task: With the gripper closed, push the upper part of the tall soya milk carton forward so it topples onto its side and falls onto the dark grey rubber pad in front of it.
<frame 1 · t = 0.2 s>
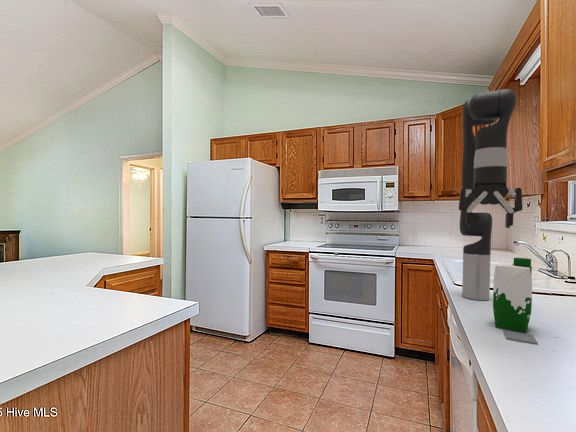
hand: (488, 227, 85), 29 cm above the worktop, tool pointing down, fingers open, 8 cm apart
soya milk: (511, 327, 92), on the worktop
rubber pad: (519, 337, 84), on the worktop
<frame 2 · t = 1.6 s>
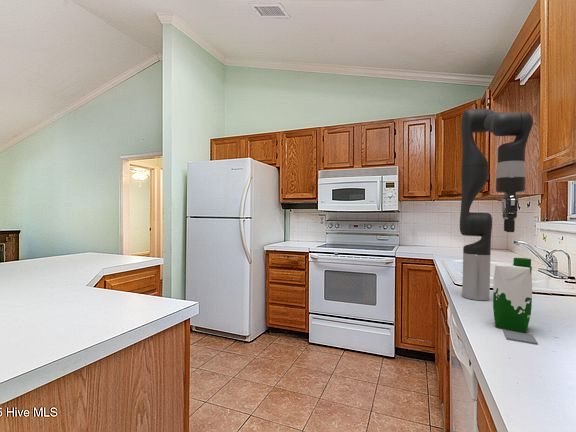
hand: (509, 231, 100), 27 cm above the worktop, tool pointing down, fingers open, 3 cm apart
nothing on the worktop moved.
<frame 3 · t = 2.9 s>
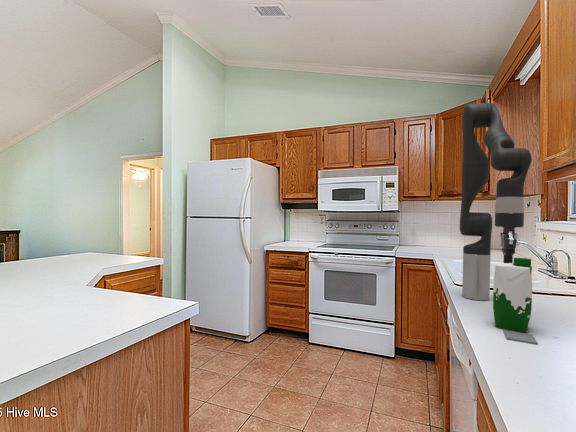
hand: (507, 267, 100), 16 cm above the worktop, tool pointing down, fingers closed
nothing on the worktop moved.
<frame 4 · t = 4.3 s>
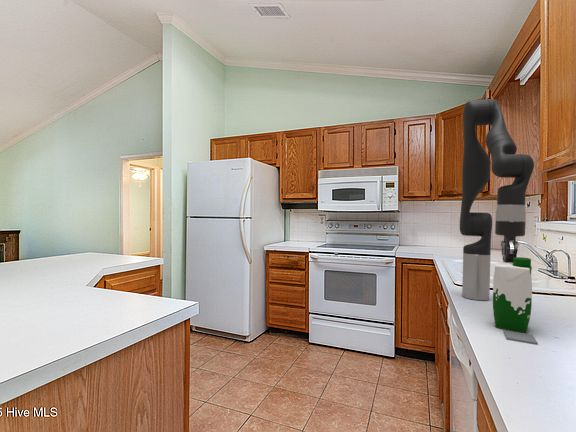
hand: (508, 276, 97), 14 cm above the worktop, tool pointing down, fingers closed
soya milk: (511, 327, 92), on the worktop, touching hand
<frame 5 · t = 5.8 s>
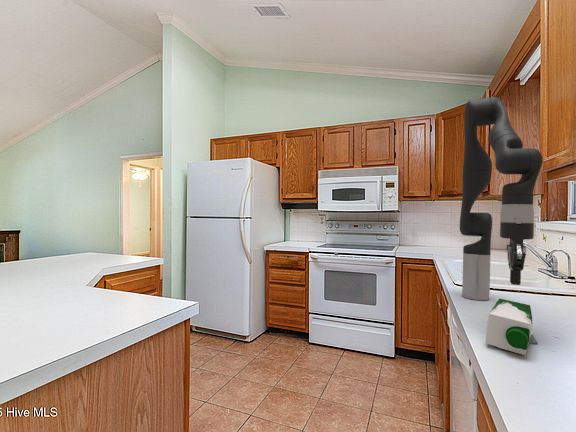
hand: (515, 284, 88), 13 cm above the worktop, tool pointing down, fingers closed
soya milk: (512, 313, 89), point 5 cm above the worktop, touching rubber pad
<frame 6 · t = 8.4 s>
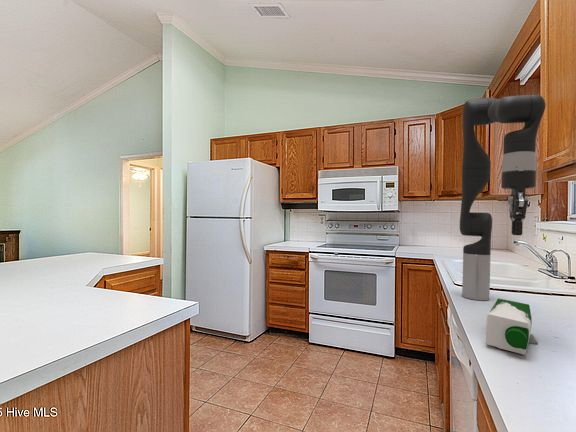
hand: (516, 235, 86), 27 cm above the worktop, tool pointing down, fingers closed
nothing on the worktop moved.
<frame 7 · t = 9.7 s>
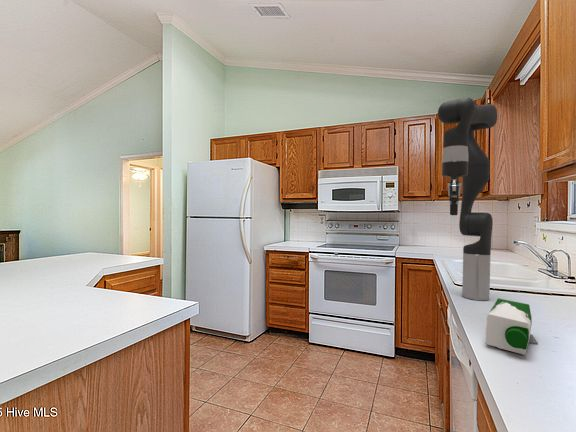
hand: (453, 215, 103), 32 cm above the worktop, tool pointing down, fingers closed
nothing on the worktop moved.
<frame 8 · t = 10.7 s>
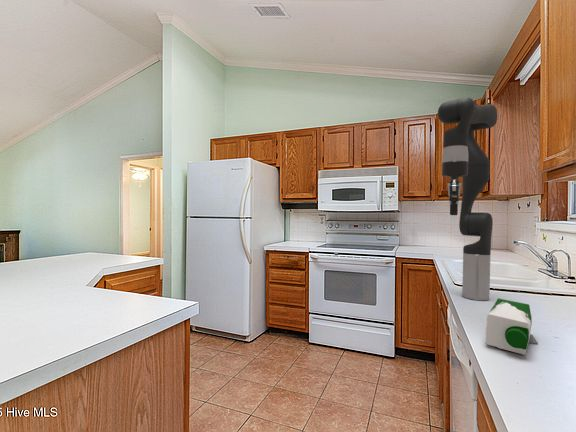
hand: (453, 215, 103), 32 cm above the worktop, tool pointing down, fingers closed
nothing on the worktop moved.
at the end: soya milk tilted 92°; soya milk inside the target area (9.0 cm from its centre), point 4.9 cm above the worktop; soya milk touching rubber pad, worktop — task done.
